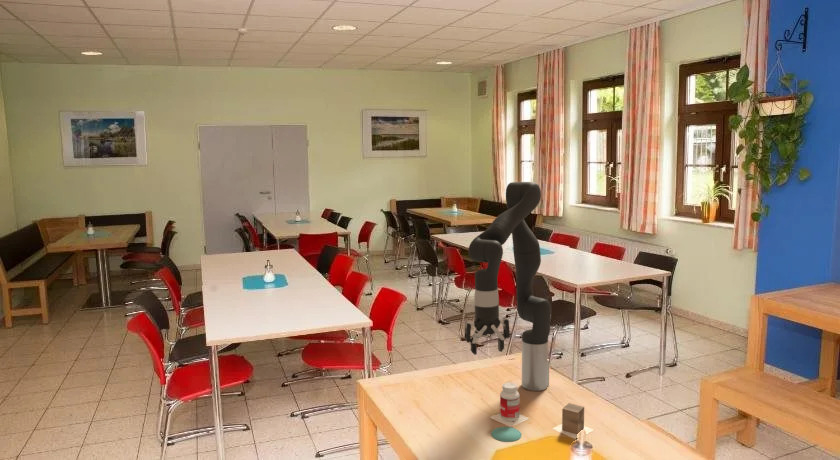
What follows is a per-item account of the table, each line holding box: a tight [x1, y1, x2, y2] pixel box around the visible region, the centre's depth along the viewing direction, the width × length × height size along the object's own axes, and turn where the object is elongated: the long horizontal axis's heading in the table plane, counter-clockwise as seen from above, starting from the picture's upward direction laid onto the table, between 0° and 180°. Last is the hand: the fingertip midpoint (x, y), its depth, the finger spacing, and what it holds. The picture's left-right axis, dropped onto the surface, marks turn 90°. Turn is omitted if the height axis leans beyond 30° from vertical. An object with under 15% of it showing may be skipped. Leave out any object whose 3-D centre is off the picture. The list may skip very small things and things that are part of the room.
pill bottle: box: [499, 381, 520, 422], centre depth 191 cm, size 6×6×11 cm
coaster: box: [491, 426, 522, 443], centre depth 181 cm, size 9×9×1 cm
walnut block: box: [561, 402, 585, 434], centre depth 183 cm, size 5×5×7 cm
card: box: [552, 423, 594, 440], centre depth 184 cm, size 9×9×1 cm
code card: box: [489, 412, 530, 428], centre depth 192 cm, size 9×9×1 cm
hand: (487, 352), depth 188 cm, fingers open, 8 cm apart
